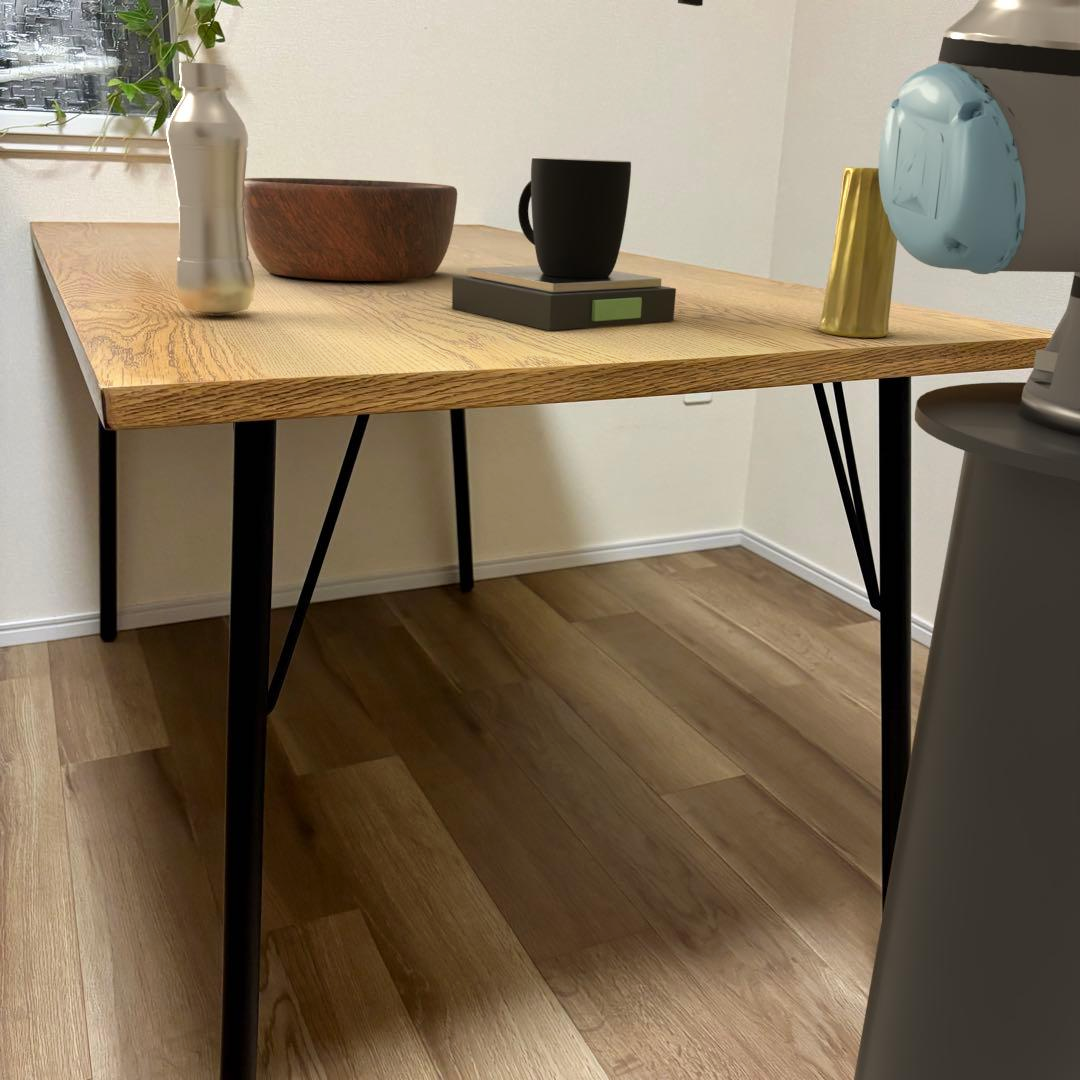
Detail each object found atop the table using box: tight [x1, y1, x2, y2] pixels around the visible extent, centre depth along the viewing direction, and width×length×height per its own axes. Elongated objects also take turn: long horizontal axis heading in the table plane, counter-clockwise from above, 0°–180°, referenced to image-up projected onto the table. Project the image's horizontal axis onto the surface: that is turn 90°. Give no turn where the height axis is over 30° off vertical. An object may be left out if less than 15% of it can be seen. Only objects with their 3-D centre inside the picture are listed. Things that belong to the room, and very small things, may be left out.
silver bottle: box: [166, 62, 256, 317], centre depth 91 cm, size 6×7×20 cm
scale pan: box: [466, 265, 662, 293], centre depth 102 cm, size 13×13×1 cm
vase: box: [818, 166, 898, 339], centre depth 97 cm, size 6×6×14 cm
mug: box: [517, 156, 632, 278], centre depth 100 cm, size 12×9×10 cm
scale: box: [451, 275, 677, 332], centre depth 102 cm, size 15×15×3 cm
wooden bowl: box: [243, 177, 458, 282], centre depth 127 cm, size 25×25×10 cm
